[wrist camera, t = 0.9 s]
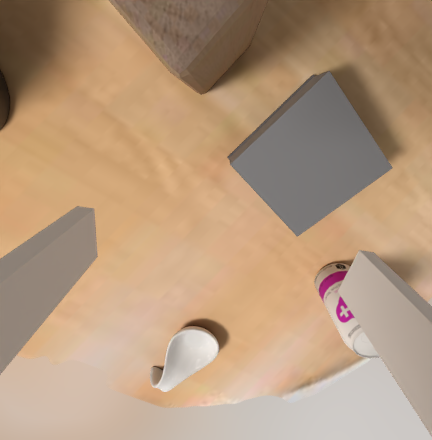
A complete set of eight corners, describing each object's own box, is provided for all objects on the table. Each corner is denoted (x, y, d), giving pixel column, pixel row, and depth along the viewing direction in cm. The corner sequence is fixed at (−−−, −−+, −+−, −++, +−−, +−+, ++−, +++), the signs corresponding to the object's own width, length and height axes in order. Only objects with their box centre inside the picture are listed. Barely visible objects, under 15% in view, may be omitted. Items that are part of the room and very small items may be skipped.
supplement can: (307, 270, 47) (341, 335, 34) (347, 254, 45) (400, 316, 32) (320, 297, 50) (356, 366, 37) (358, 283, 48) (411, 350, 35)
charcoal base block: (227, 156, 38) (228, 164, 32) (311, 75, 33) (329, 68, 27) (287, 221, 42) (297, 238, 37) (369, 159, 37) (394, 168, 32)
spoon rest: (188, 310, 53) (183, 338, 47) (228, 332, 56) (229, 361, 49) (140, 361, 62) (131, 390, 55) (177, 378, 64) (172, 407, 58)
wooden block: (203, -32, 28) (168, -290, 10) (254, 41, 31) (298, -56, 13) (151, 37, 31) (51, -65, 13) (201, 98, 34) (178, 83, 16)
